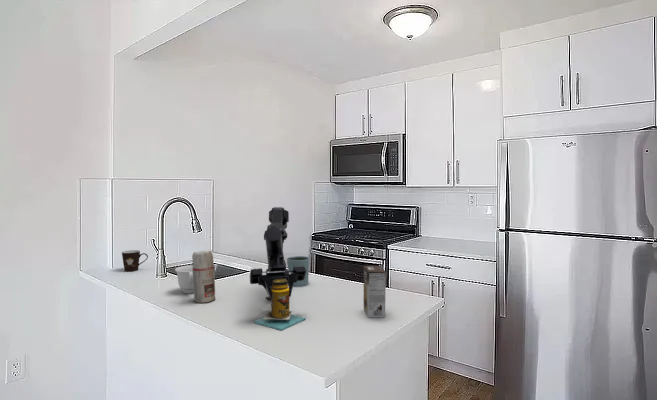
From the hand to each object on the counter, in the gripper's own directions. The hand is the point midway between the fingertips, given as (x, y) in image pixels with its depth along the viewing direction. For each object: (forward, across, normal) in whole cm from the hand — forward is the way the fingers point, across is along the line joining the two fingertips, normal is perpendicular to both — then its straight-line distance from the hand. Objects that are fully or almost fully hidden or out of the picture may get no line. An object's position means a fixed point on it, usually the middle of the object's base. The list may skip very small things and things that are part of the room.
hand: (280, 297), depth 131 cm
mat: (+5, 0, -7) cm, 9 cm away
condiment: (+4, +1, -6) cm, 7 cm away
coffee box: (+6, -33, -6) cm, 34 cm away
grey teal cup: (-26, -15, -40) cm, 50 cm away
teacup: (-26, +31, -39) cm, 56 cm away
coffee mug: (-61, +62, -75) cm, 115 cm away
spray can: (-16, +25, -29) cm, 42 cm away
